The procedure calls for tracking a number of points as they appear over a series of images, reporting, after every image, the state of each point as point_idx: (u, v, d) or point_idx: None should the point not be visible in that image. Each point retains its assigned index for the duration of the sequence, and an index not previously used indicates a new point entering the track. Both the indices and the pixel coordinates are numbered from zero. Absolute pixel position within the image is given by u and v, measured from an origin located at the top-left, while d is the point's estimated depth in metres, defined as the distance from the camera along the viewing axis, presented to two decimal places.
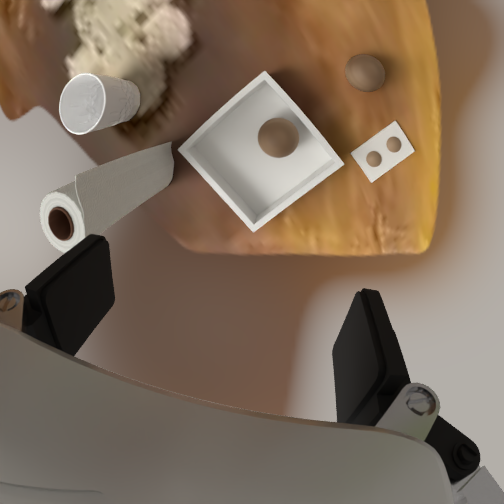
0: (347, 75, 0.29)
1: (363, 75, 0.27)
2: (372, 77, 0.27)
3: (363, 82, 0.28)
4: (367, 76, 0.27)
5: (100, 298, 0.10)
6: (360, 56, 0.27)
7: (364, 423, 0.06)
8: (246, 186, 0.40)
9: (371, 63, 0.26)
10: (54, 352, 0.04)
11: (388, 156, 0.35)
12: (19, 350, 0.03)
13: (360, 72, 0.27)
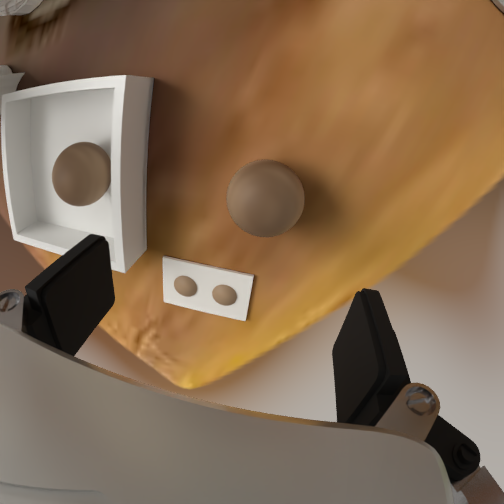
0: (232, 179, 0.18)
1: (243, 207, 0.17)
2: (253, 222, 0.17)
3: (235, 213, 0.18)
4: (247, 214, 0.17)
5: (100, 298, 0.10)
6: (277, 175, 0.17)
7: (364, 423, 0.06)
8: (42, 185, 0.23)
9: (274, 203, 0.17)
10: (54, 352, 0.04)
11: (206, 299, 0.26)
12: (19, 350, 0.03)
13: (243, 199, 0.17)
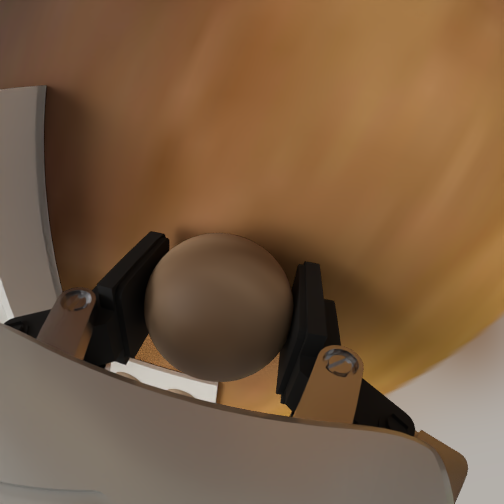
0: (151, 276, 0.09)
1: (165, 347, 0.08)
2: (189, 372, 0.08)
3: (157, 348, 0.09)
4: (175, 360, 0.08)
5: None
6: (233, 285, 0.08)
7: (291, 384, 0.07)
8: None
9: (225, 350, 0.07)
10: (54, 352, 0.04)
11: None
12: (19, 350, 0.03)
13: (164, 334, 0.08)
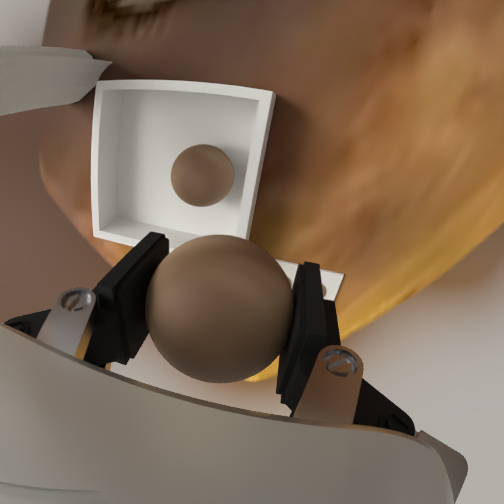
0: (152, 277, 0.09)
1: (167, 349, 0.08)
2: (191, 373, 0.08)
3: (158, 349, 0.09)
4: (176, 361, 0.08)
5: None
6: (234, 287, 0.08)
7: (291, 384, 0.07)
8: (131, 181, 0.26)
9: (226, 351, 0.07)
10: (54, 352, 0.04)
11: None
12: (19, 350, 0.03)
13: (165, 335, 0.08)
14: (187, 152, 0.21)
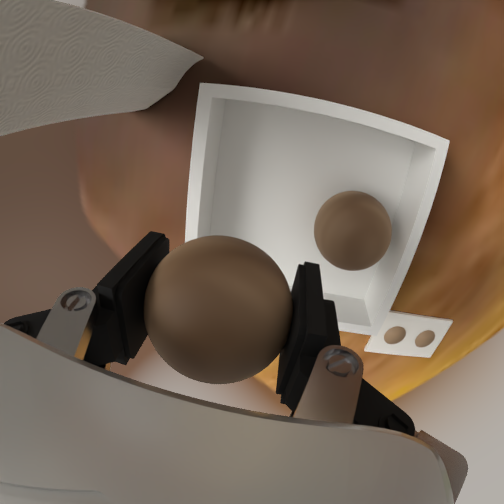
0: (150, 278, 0.09)
1: (165, 350, 0.08)
2: (189, 374, 0.08)
3: (156, 350, 0.09)
4: (174, 362, 0.08)
5: None
6: (232, 288, 0.08)
7: (291, 384, 0.07)
8: (233, 225, 0.22)
9: (225, 352, 0.07)
10: (54, 352, 0.04)
11: (407, 344, 0.25)
12: (19, 350, 0.03)
13: (164, 336, 0.08)
14: (348, 204, 0.16)
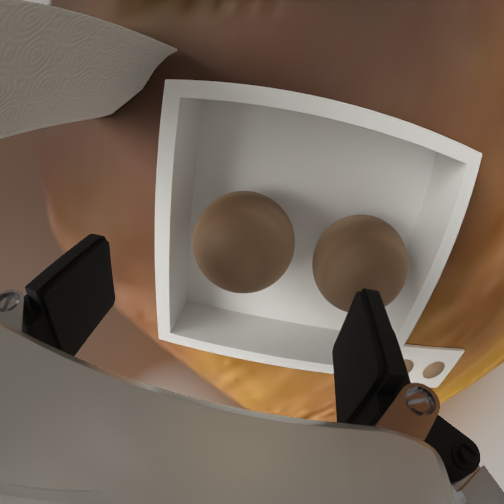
0: (198, 218, 0.14)
1: (211, 260, 0.13)
2: (225, 280, 0.13)
3: (201, 266, 0.13)
4: (216, 270, 0.13)
5: (100, 298, 0.10)
6: (257, 216, 0.12)
7: (364, 423, 0.06)
8: None
9: (252, 257, 0.12)
10: (54, 352, 0.04)
11: (414, 376, 0.21)
12: (19, 350, 0.03)
13: (211, 250, 0.13)
14: (357, 235, 0.12)
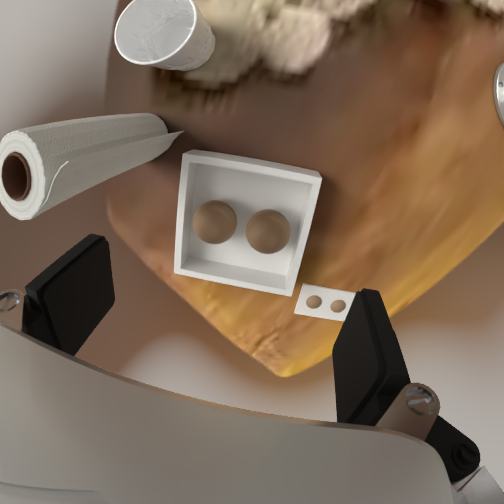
0: None
1: (200, 228, 0.31)
2: (206, 236, 0.32)
3: (196, 231, 0.32)
4: (202, 232, 0.31)
5: (100, 298, 0.10)
6: (218, 210, 0.31)
7: (364, 423, 0.06)
8: None
9: (216, 226, 0.31)
10: (54, 352, 0.04)
11: (325, 309, 0.40)
12: (19, 350, 0.03)
13: (200, 223, 0.31)
14: (261, 217, 0.31)
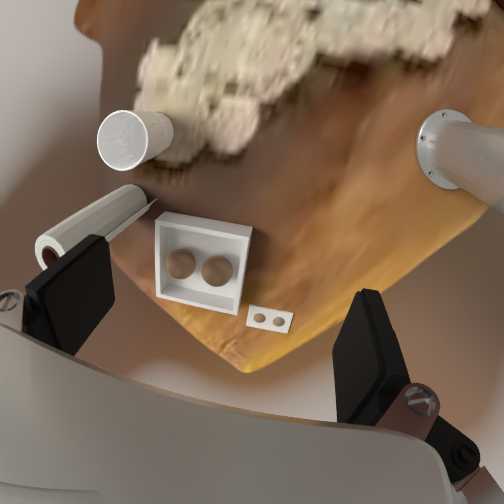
0: (167, 256, 0.47)
1: (169, 269, 0.46)
2: (173, 275, 0.46)
3: (167, 271, 0.46)
4: (170, 272, 0.46)
5: (100, 298, 0.10)
6: (180, 258, 0.45)
7: (364, 423, 0.06)
8: None
9: (178, 269, 0.45)
10: (54, 352, 0.04)
11: (269, 323, 0.54)
12: (19, 350, 0.03)
13: (168, 266, 0.45)
14: (209, 263, 0.45)
